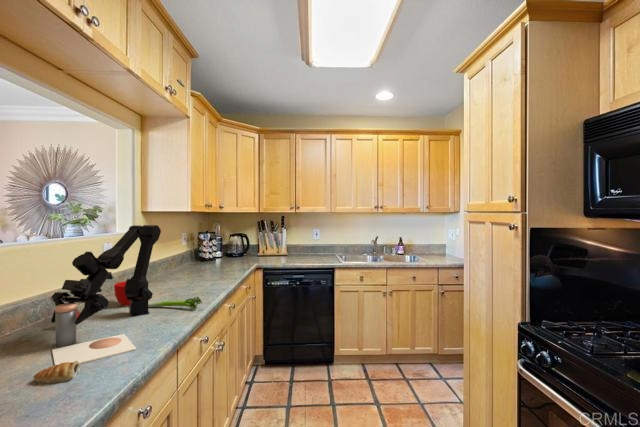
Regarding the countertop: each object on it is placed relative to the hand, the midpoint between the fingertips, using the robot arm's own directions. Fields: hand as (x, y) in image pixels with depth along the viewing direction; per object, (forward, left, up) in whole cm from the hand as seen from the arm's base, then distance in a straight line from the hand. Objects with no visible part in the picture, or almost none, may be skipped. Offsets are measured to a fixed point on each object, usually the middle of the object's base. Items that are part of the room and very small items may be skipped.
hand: (64, 323), depth 106 cm
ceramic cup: (-27, -42, -7) cm, 51 cm away
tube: (-1, 0, -7) cm, 7 cm away
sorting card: (-7, +11, -7) cm, 15 cm away
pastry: (+3, +26, -8) cm, 27 cm away
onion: (-3, -21, -7) cm, 23 cm away
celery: (-40, -20, -8) cm, 45 cm away
